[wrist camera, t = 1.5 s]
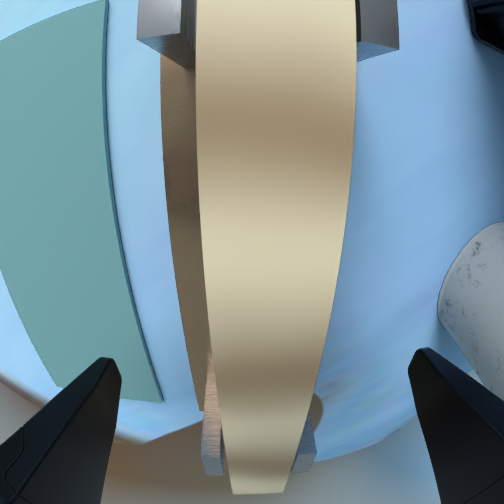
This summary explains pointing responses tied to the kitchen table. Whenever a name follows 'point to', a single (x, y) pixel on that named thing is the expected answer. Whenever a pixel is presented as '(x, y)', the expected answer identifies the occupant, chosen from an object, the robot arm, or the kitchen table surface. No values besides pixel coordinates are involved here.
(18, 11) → the kitchen table surface
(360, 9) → the bracketed wooden plank
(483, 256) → the grey stone cylinder
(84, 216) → the mat
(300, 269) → the rail
